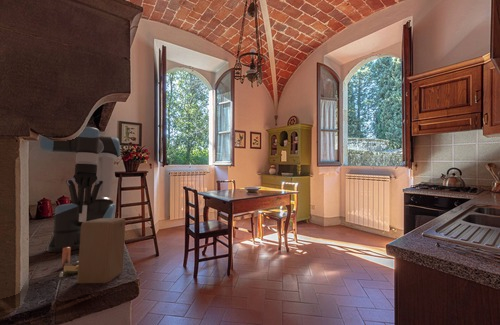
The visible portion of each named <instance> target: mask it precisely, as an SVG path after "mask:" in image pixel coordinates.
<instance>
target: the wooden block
mask: <svg viewBox="0 0 500 325" xmlns="http://www.w3.org/2000/svg"><path fill="white" fill-rule="evenodd" d="M125 236H126V219H125V218H123V217H116V218H115V217H114V218H100V219H95V220H90V221H85V222H83V223H82V224H81V234H80V248H79V249H78V260H79V262H78V275H76V277H77V280H76V283H77V284H105V283H109V282H111V281H113V280H114V279H115V278H116V277H118V276H120V275H121V274H122V273H123V272H124V255H125V254H124V253H125Z"/></svg>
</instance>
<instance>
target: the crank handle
mask: <svg viewBox="0 0 500 325" xmlns="http://www.w3.org/2000/svg"><path fill="white" fill-rule="evenodd" d="M71 251H72V250H71V247H64V248H63V252H61V253H62V254H61V268H63V270H64V273H65V274H72V273H78V262H79V259H78V260H73V261H72V262H71V253H72V252H71Z"/></svg>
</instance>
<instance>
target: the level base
mask: <svg viewBox="0 0 500 325" xmlns="http://www.w3.org/2000/svg"><path fill="white" fill-rule="evenodd" d="M73 276H78V273H72V274H65V273H64V269H62V270H61V271H60V273H59V274H58V276H57V277H56V279H59V278H66V277H73Z"/></svg>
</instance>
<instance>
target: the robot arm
mask: <svg viewBox="0 0 500 325" xmlns="http://www.w3.org/2000/svg"><path fill="white" fill-rule="evenodd" d="M84 127H85V129H84V130H83V132H82V133H81V134H80V135H79V136H78V137H76V138H75V139H72V140H67V141H54V140H50V139H48V138H45V137H43V136H40V139H39V146H40V149H41V150H42V151H44V152H50V153H52V152H53V153H71V154H73V153H74V154H75V163H76V164H75V166H74V175H73V176H72V178H71V179H67V180H66V181H65V183H66V184H67V186H68V189H69V190H68V191H69V194H70V195H69V196H70V200H71V203H66V204H60V205H57V206H56V207H55V211H54V214H53V216H54V219H53V220H54V221H53V232H52V237H51V238H50V240H49V242H48V245H47V249H46V252H48V253H63V248H64V247H71V251H75V250H79V248H80V234H81V224H82V223H83V222H85V221H90V220H95V219H100V218H115V214H116V210H117V204H116V203H114V200H113V199H112V189H113V188H112V186H113V180H114V179H113V177H114V166H115V161H117V160H118V159H119V158H118V157H120V156H121V142H120V139H119V138H118V137H114V136H103V135H102V136H101V135H100V130H99V129H98V128H96V127H93V126H92V127H91V126H84ZM75 183H76V185H77V188H76V185H75Z"/></svg>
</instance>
